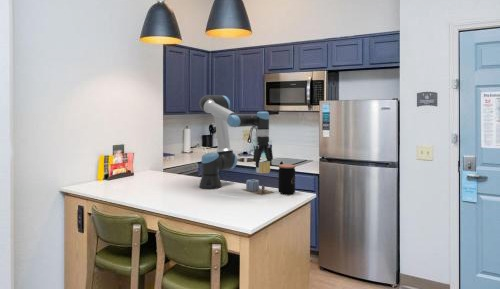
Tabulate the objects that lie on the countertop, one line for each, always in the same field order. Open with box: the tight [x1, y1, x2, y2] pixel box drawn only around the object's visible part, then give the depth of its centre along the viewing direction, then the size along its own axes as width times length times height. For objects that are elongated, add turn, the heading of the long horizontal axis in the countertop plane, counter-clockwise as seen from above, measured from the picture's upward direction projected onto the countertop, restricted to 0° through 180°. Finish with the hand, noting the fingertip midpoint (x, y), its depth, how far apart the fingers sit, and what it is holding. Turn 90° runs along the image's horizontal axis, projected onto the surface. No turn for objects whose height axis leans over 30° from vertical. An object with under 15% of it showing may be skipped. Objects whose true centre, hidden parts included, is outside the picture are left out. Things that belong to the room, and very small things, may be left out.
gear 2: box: [255, 161, 271, 174], centre depth 232 cm, size 9×8×6 cm
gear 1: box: [245, 178, 260, 191], centre depth 241 cm, size 9×8×6 cm
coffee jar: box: [278, 163, 296, 196], centre depth 235 cm, size 11×11×18 cm
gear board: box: [241, 184, 275, 196], centre depth 237 cm, size 20×12×6 cm, turn 42°
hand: (263, 171), depth 232 cm, fingers closed on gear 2, 8 cm apart
